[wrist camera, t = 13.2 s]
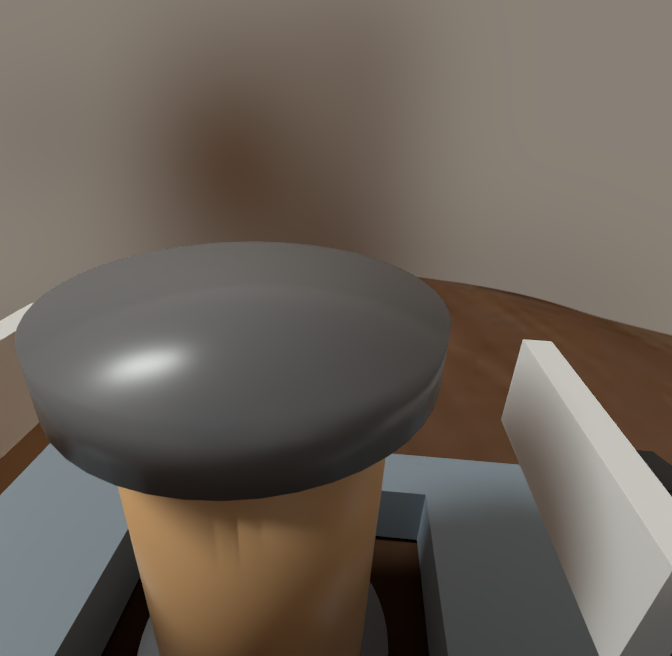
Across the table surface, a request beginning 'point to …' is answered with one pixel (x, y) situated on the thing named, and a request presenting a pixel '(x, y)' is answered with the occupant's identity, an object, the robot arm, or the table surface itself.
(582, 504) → the robot arm
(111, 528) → the notched board
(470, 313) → the table surface
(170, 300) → the bobbin
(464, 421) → the table surface
